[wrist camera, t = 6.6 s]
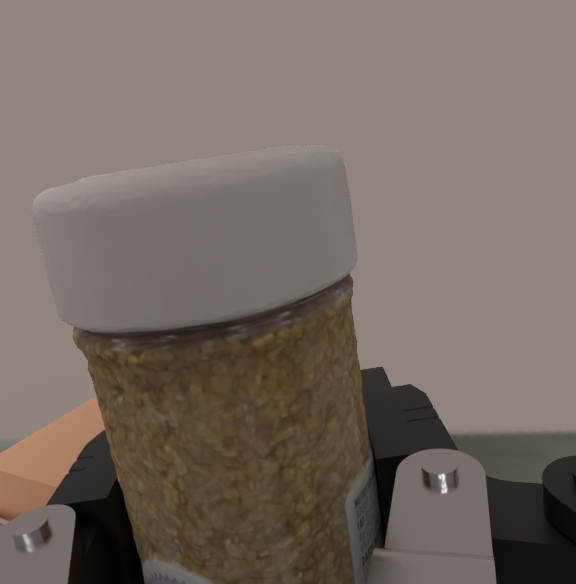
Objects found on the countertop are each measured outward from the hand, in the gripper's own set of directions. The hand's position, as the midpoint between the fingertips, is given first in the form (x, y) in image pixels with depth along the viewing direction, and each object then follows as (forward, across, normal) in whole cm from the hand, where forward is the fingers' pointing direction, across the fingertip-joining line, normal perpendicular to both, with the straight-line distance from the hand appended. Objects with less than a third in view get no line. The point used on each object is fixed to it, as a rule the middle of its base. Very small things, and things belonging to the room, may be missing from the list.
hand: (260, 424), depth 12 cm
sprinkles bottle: (-3, 0, +8) cm, 8 cm away
